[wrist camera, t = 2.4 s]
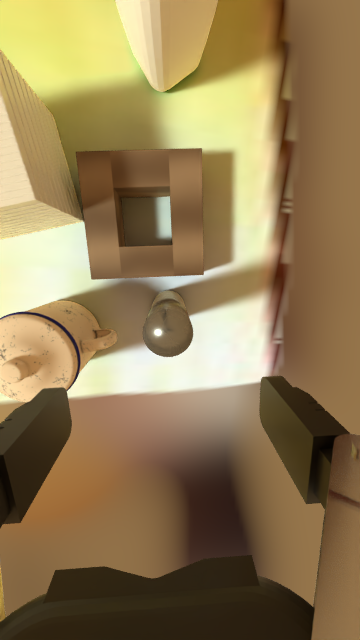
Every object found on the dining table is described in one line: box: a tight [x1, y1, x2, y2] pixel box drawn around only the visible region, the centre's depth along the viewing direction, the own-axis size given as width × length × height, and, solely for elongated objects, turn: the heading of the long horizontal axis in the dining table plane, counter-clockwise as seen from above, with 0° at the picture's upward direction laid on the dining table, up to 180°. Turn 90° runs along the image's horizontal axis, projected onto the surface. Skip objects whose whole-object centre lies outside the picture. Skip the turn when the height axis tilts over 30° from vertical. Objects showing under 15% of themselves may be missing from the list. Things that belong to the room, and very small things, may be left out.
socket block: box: [76, 148, 204, 279], centre depth 27 cm, size 12×12×4 cm
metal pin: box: [143, 290, 193, 357], centre depth 25 cm, size 4×4×12 cm
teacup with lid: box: [0, 301, 117, 402], centre depth 26 cm, size 12×9×12 cm
